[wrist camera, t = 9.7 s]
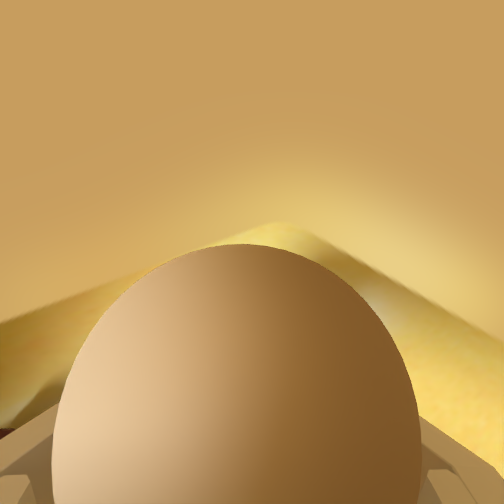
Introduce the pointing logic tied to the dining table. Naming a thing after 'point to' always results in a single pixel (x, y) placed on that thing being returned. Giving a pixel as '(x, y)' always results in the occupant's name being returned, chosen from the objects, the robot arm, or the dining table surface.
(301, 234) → the dining table surface
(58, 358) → the dining table surface
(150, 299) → the birch post
